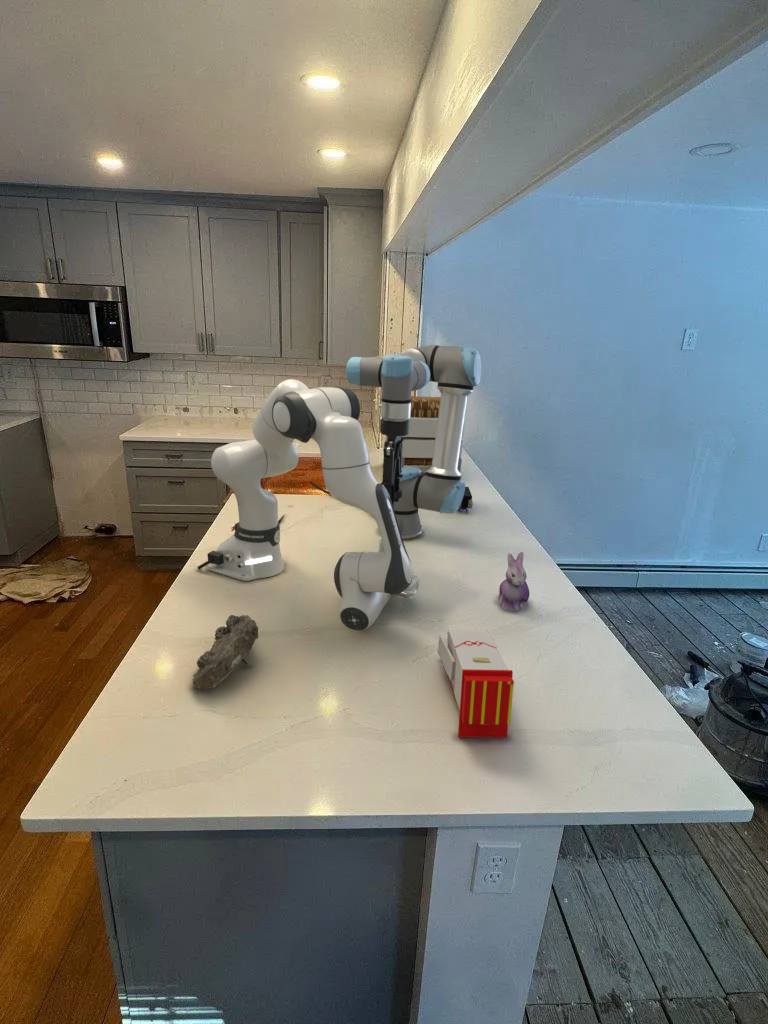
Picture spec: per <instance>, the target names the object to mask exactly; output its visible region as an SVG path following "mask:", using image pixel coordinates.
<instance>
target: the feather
mask: <svg viewBox="0 0 768 1024" xmlns="http://www.w3.org/2000/svg"><path fill="white" fill-rule="evenodd" d="M285 515H286V514H283V515H282V516H281V518H279V519H278V522H279V525H281V522H282V520H283V519H284V516H285Z"/></svg>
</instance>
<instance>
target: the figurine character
mask: <svg viewBox="0 0 768 1024" xmlns="http://www.w3.org/2000/svg"><path fill="white" fill-rule="evenodd" d="M473 502H474V501H473V495H472V492H471V489H470V486H465V491H464V496H463V499H462V501H461V504H460V506H459V508H458V512H459V513H462V511H465V512H466V513H469V510H468V509H470V510H471V509H473V507H474V503H473Z"/></svg>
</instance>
